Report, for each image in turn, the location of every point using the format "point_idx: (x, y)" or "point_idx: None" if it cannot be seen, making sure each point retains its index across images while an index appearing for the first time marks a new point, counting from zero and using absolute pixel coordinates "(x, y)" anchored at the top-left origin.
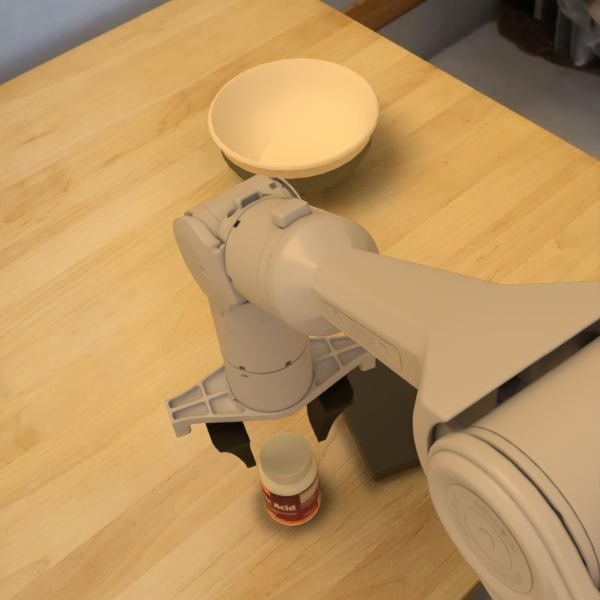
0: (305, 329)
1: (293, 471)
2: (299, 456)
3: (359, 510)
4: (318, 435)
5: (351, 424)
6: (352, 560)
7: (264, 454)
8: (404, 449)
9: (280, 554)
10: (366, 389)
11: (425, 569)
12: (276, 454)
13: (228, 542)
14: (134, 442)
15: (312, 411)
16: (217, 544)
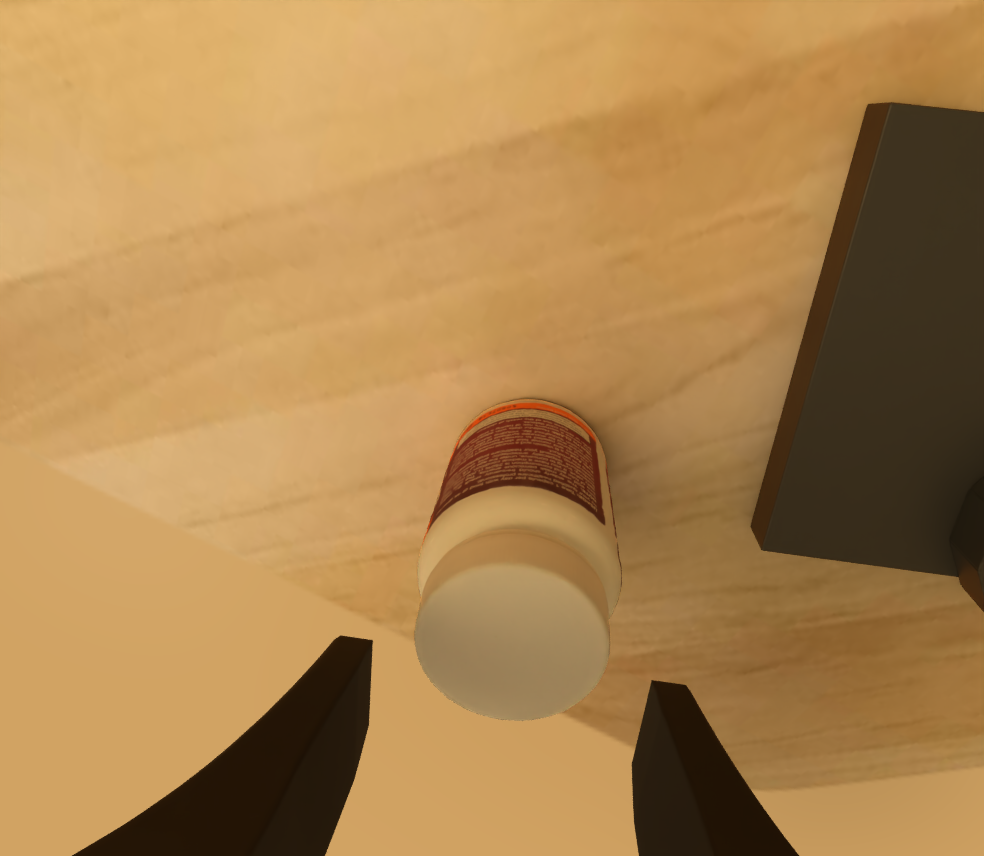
0: None
1: (505, 709)
2: (551, 681)
3: (667, 567)
4: (637, 829)
5: (813, 384)
6: None
7: (438, 617)
8: (889, 531)
9: None
10: (953, 288)
11: None
12: (480, 634)
13: (329, 480)
14: (140, 28)
15: (670, 848)
16: (301, 471)
